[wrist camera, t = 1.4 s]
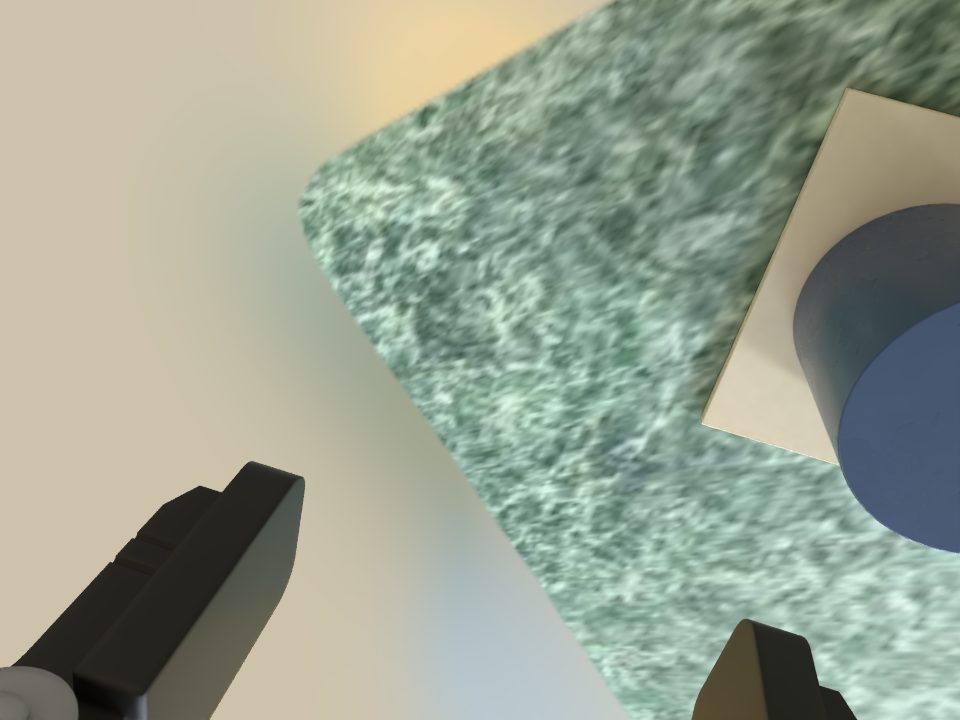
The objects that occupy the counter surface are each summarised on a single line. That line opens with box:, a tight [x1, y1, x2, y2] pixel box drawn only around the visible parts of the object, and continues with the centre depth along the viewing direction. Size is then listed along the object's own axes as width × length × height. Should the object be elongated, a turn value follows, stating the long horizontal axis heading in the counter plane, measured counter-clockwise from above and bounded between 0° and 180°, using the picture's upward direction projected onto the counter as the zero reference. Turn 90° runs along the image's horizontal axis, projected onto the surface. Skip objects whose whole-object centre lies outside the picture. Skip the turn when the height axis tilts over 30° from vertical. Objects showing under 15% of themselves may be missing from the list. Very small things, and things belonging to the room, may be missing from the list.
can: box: [793, 203, 960, 554], centre depth 21 cm, size 8×8×7 cm
